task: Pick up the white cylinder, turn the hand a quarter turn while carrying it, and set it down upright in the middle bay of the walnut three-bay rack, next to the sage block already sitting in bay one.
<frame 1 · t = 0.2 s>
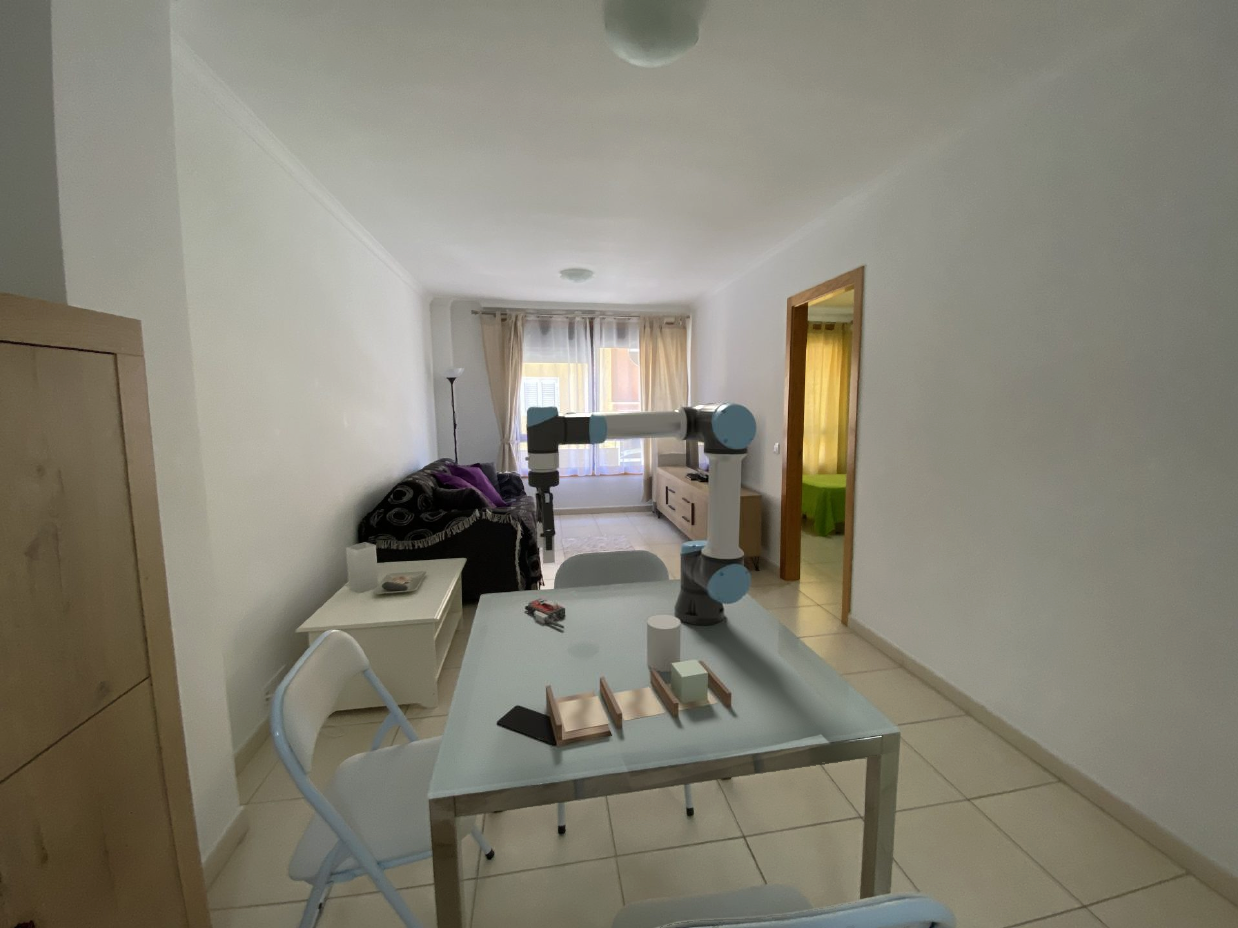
hand: (545, 554, 126), 28 cm above the table, fingers open, 13 cm apart
rack: (637, 708, 109), on the table
smartphone: (535, 727, 103), on the table
walkie-talkie: (550, 619, 155), on the table
sage block: (689, 693, 112), point 1 cm above the table, touching rack
white cylinder: (663, 668, 125), on the table
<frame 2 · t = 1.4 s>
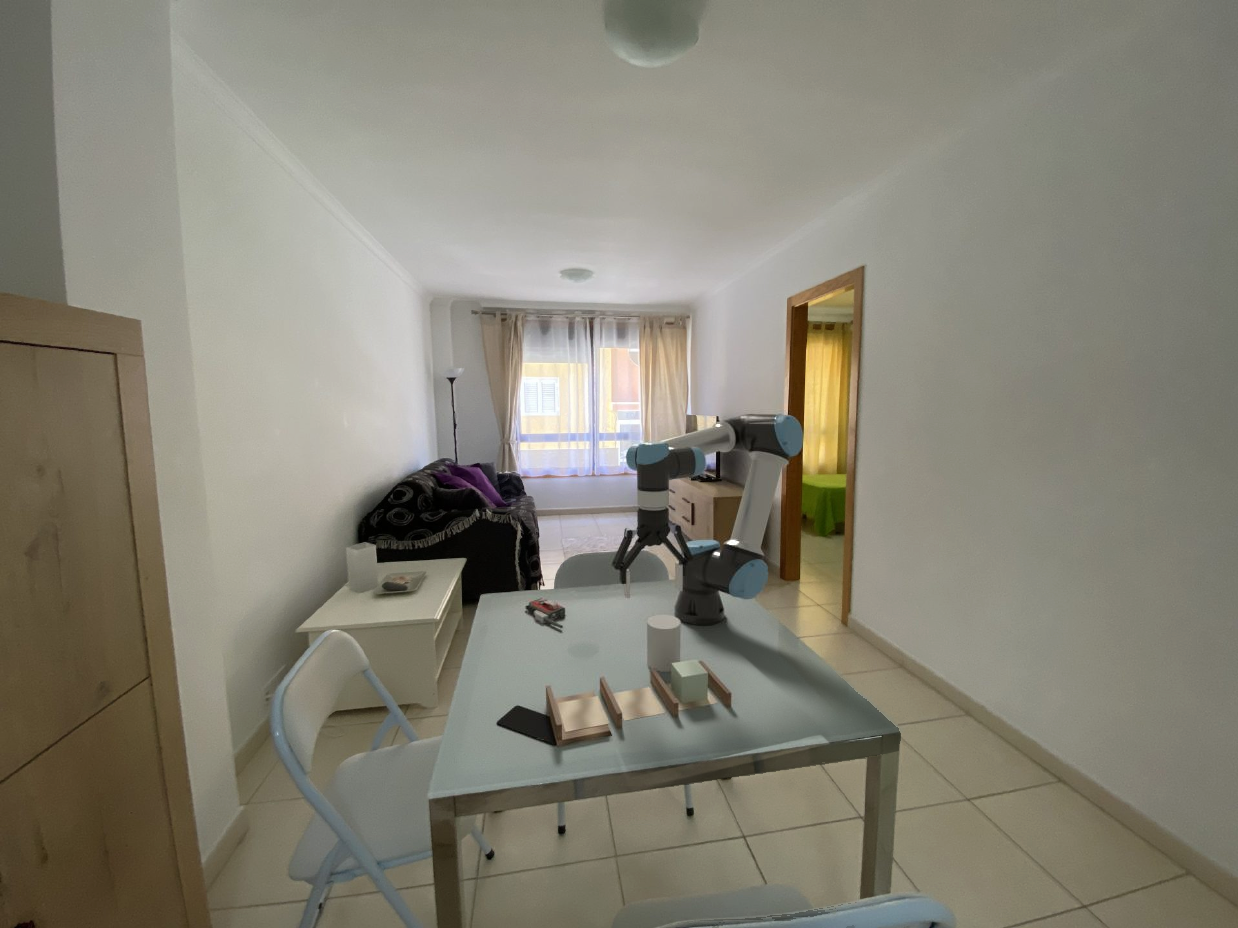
hand: (653, 592, 123), 19 cm above the table, fingers open, 13 cm apart
nothing on the table moved.
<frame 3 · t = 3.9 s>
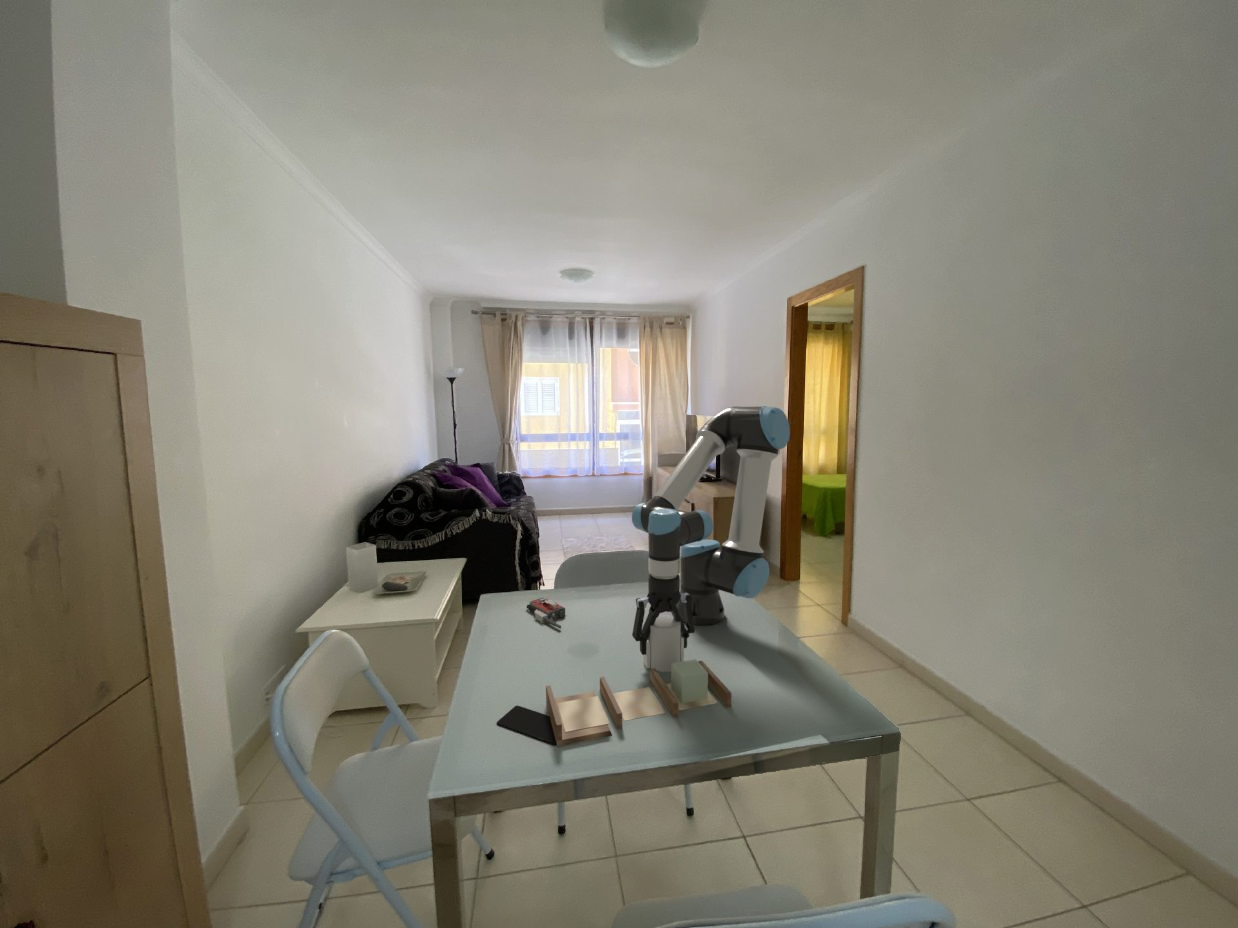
hand: (663, 662, 125), 1 cm above the table, fingers closed on white cylinder, 8 cm apart
white cylinder: (663, 668, 125), on the table, touching gripper
everything else where it was.
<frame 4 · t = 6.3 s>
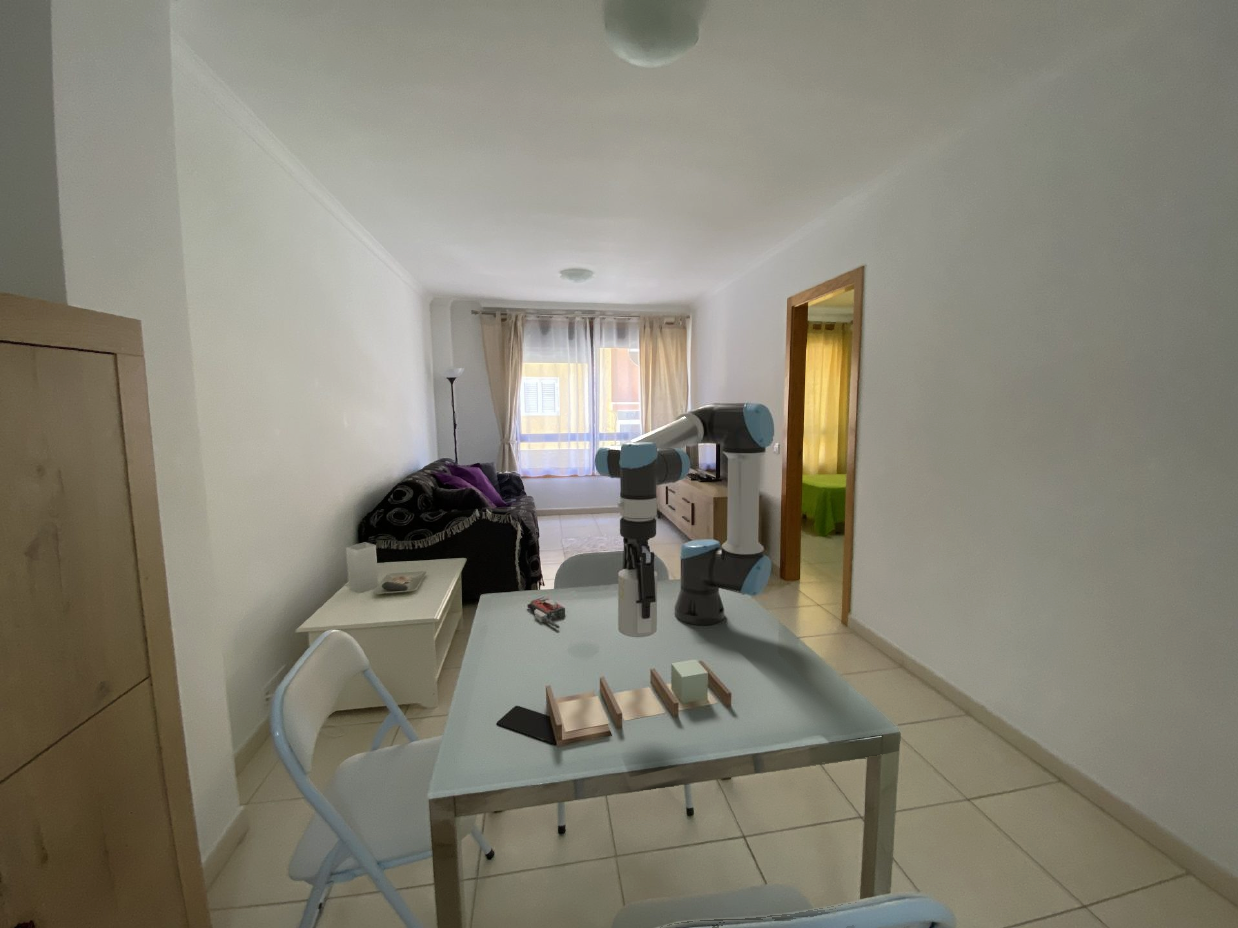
hand: (637, 622, 107), 19 cm above the table, fingers closed on white cylinder, 8 cm apart
white cylinder: (637, 629, 107), point 17 cm above the table, touching gripper
everything else where it was.
when the fingers open (4 cm above the table, at t = 9.6 s): white cylinder drops 1 cm, resting on rack.
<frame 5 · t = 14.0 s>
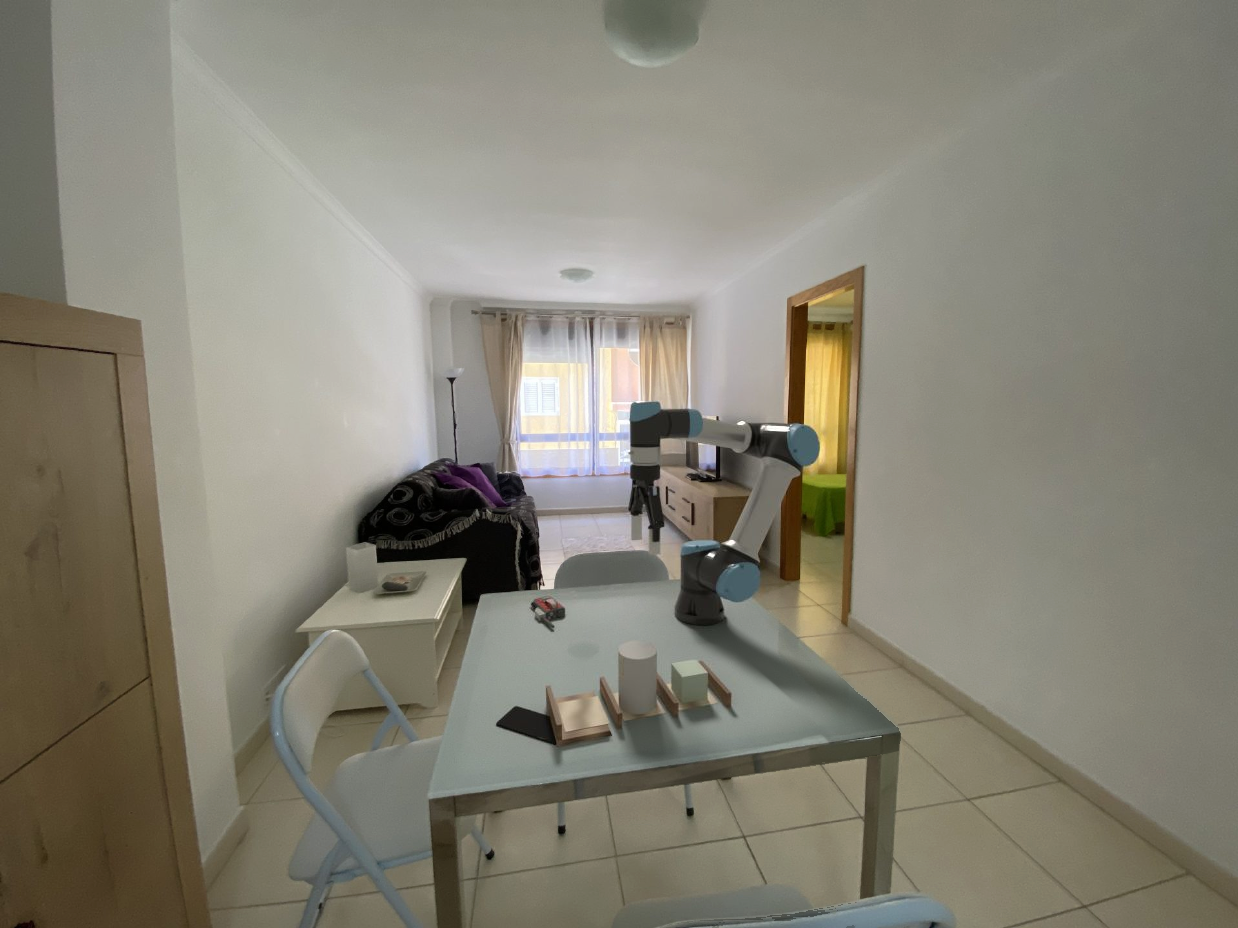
hand: (645, 546, 129), 29 cm above the table, fingers open, 13 cm apart
white cylinder: (637, 703, 109), point 1 cm above the table, touching rack
at the end: white cylinder inside the target area on the rack (0.1 cm from its centre), point 1.1 cm above the rack's base; white cylinder tilted 0°; sage block moved 0.1 cm from its start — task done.
